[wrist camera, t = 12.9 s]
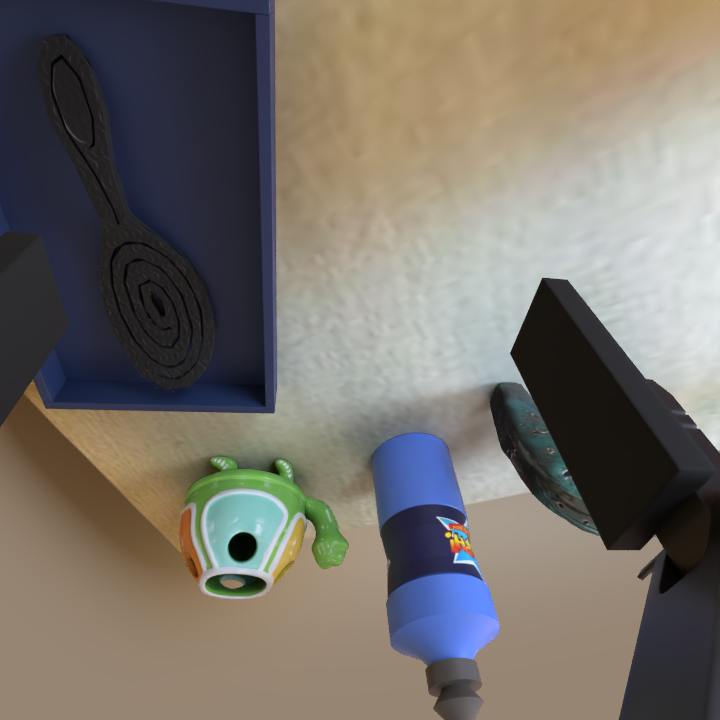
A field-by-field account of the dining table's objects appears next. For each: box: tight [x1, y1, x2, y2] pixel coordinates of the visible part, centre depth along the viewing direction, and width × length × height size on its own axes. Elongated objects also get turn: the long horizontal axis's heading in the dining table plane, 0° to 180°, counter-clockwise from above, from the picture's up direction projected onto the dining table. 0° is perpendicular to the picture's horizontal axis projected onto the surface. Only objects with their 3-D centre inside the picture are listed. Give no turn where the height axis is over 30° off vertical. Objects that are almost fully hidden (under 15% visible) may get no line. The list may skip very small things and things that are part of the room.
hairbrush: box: [37, 34, 217, 392], centre depth 34 cm, size 8×4×25 cm
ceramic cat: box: [490, 383, 656, 537], centre depth 43 cm, size 20×6×20 cm, turn 80°
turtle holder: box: [179, 456, 349, 599], centre depth 52 cm, size 12×18×12 cm
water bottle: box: [372, 433, 500, 720], centre depth 45 cm, size 9×9×25 cm
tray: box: [0, 0, 277, 413], centre depth 34 cm, size 31×20×4 cm, turn 174°
